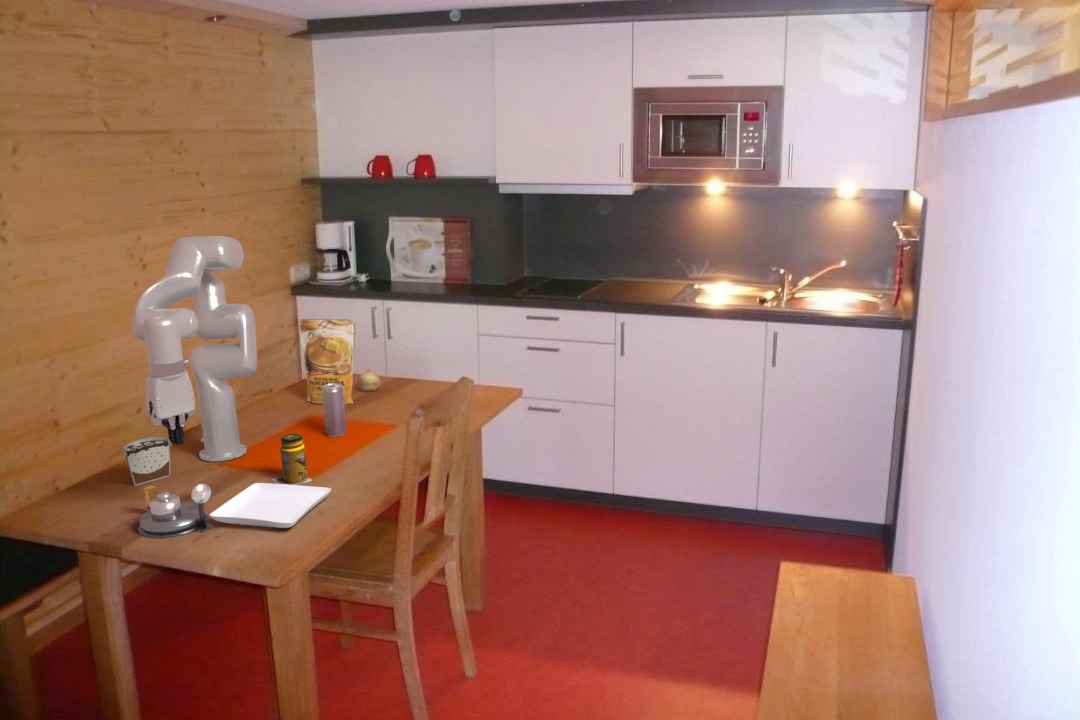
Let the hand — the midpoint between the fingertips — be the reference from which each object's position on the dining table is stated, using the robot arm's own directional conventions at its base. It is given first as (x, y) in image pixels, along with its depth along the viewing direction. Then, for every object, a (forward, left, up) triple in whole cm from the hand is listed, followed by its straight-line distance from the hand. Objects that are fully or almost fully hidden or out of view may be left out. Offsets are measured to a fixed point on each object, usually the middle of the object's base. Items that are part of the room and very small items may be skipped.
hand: (177, 442), depth 217 cm
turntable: (+5, -7, -16) cm, 18 cm away
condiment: (+6, +26, -17) cm, 32 cm away
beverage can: (-15, +56, -17) cm, 61 cm away
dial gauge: (+15, -4, -17) cm, 22 cm away
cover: (+7, -8, -14) cm, 18 cm away
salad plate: (+20, +11, -17) cm, 28 cm away
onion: (-45, +93, -17) cm, 105 cm away
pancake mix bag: (-44, +76, -17) cm, 90 cm away
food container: (-27, +4, -17) cm, 32 cm away
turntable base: (+7, -7, -17) cm, 19 cm away
